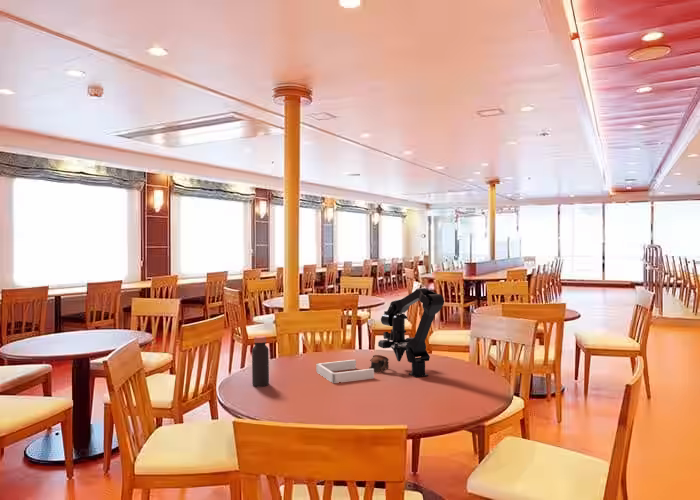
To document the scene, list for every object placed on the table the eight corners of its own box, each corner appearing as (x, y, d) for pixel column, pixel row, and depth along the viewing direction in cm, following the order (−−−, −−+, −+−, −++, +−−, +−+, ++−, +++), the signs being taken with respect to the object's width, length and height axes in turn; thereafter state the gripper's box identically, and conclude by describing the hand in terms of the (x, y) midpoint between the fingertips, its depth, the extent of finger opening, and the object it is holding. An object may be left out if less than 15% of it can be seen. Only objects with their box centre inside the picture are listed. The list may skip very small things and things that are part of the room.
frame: (374, 378, 216) (373, 369, 216) (332, 383, 208) (332, 373, 208) (354, 368, 235) (354, 359, 235) (316, 372, 227) (316, 363, 227)
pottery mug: (363, 371, 230) (367, 354, 234) (379, 378, 234) (383, 361, 237) (378, 370, 220) (382, 352, 224) (395, 377, 224) (398, 359, 228)
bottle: (265, 387, 204) (264, 338, 203) (249, 386, 205) (249, 337, 205) (271, 382, 210) (270, 335, 210) (256, 382, 212) (255, 335, 211)
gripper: (407, 324, 243) (407, 356, 243) (373, 326, 236) (373, 359, 236) (419, 327, 233) (419, 360, 233) (383, 330, 226) (383, 364, 226)
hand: (398, 361), depth 232 cm, fingers closed
